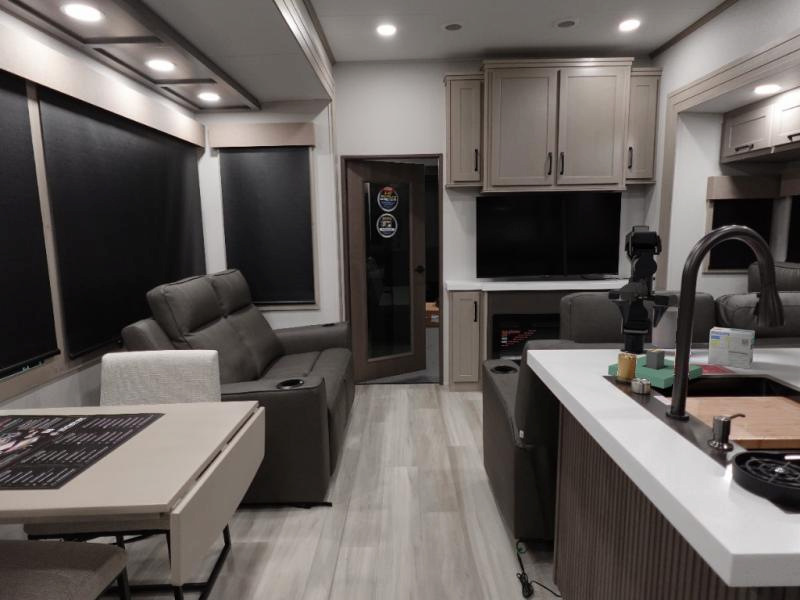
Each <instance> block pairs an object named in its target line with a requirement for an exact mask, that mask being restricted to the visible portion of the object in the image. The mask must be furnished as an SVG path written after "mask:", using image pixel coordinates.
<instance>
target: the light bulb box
mask: <svg viewBox="0 0 800 600" xmlns="http://www.w3.org/2000/svg"><path fill="white" fill-rule="evenodd" d="M755 334H756V331H755V330H750V329H740V328H728V327H726V328H725V327H718V326H713V328H711V329H710V330H709V344H708V359H707V364H712V365H718V366H724V367H732V368H739V369H746V370H750V369H751V367H752V366H753V363H754V361H753V360H754V349H755V348H754V345H755Z"/></svg>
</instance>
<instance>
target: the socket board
mask: <svg viewBox="0 0 800 600" xmlns="http://www.w3.org/2000/svg"><path fill="white" fill-rule="evenodd" d="M674 361H675V360H672V359H671V360H670V359H666V358H664V368H663V369H660V370H656V369H651V368H647V367H646V355H645V356H641V357H638V358H637V364H636V371H635V377H636V378H643V379H647V380H649V381H650V383H651V385H650V386H652V387H656V388H660V389H667V388H669V387H673V386H672V384H673V374H674ZM618 363H619V362H617V363H614V364H611V365H608V366H607V367H608V368H607V369H608V371H607V372H608V373H607V374H608V375H609V374H610V375H609V376H613V375H615V376H614V377H617V376H616V375H617V371H618ZM689 364H690V366H689V380H688V381H690V380H693V379H696V378H699V377H700V376H699V375H702V376H703V371H704V370H703V369H704V368H703V366H700V365H694V364H691V363H689ZM698 376H699V377H698Z"/></svg>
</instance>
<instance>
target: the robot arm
mask: <svg viewBox="0 0 800 600" xmlns="http://www.w3.org/2000/svg"><path fill="white" fill-rule="evenodd" d="M624 237H625V238H624V250H623V251H624V252H626V253H625V254H626V259H627V260H628V262H629V263H630V277H628V282H627V283H626V284H625V285H623V286H622V287H620V288H614V289H610V290H609V291H608V293H607V300H611V302H612V303H614V304H615V305H616V306H617V307H618V310H619V312H620V315H621V329H620V330H621V331H620V332H621V335H624V347H623V348H620V349H619V350H620V352H624V351H627V352H626V353H630V354H634V355H639V354H644V353H647V351H649V350H648V349H645V336H652V329H653V327H654V328H656V327H657V325H658V324H659V322H660V320H661V318H662V316H663V315H664V313H665V312H666V310H667V309H668V308H669V307H674V305H677V304H678V299H679V298H678V296H677V295H676V294H675V293H674V294H673V293H657V294H656V293H655V291H656V290H653V286H654V281H656V276H655V274H656V273H657V271H658V263H657V262H656V260H655V258H654V256H660V254H661V253H662V250H663V247H662V238H661V236H660V234H658V233H657V231H656V230H653V231H650V226H649V225H645V224H644V225H634V226H631V231H629V232H628V233H627V234H626V235H625V236H624ZM644 301H647V302H653V303H654V305H652V309H654V319H653V318H652V320H651V317H649V311H648V308H646V307H645V305H644Z"/></svg>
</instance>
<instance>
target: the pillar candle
mask: <svg viewBox="0 0 800 600" xmlns="http://www.w3.org/2000/svg"><path fill="white" fill-rule="evenodd" d="M678 307H679V306H678ZM678 307H677V306H672V307H669V308H668V309H667V310H666V312H665V313H664V315H663V316H662V318H661V320H660V322H659V324H658V325H657V327H656V328H654V327H653V326H652V330H651V345H652V346H653V347H654V348H655V347H656V348H660V349H672V350H676V349H675V342H676V331H677V318H678ZM652 309H653V312H652V313H653V314H652V316H653V317H652V320H653V319H654V308H652Z"/></svg>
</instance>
